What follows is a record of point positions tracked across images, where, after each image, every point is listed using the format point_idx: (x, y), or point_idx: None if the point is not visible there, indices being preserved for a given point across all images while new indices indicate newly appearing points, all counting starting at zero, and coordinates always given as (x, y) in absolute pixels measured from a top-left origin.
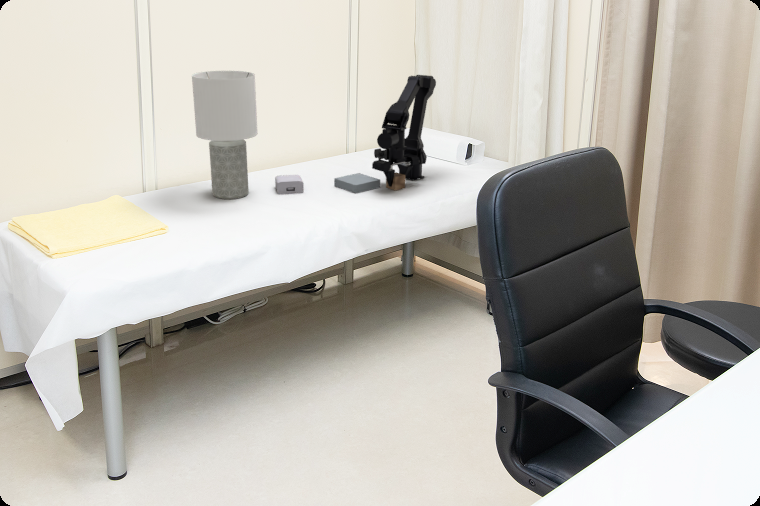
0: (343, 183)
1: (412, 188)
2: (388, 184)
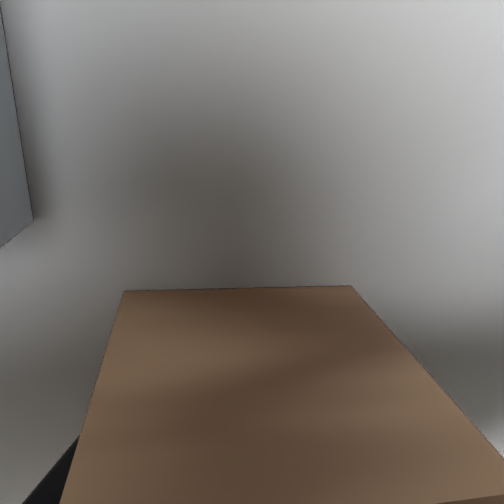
0: None
1: None
2: None
